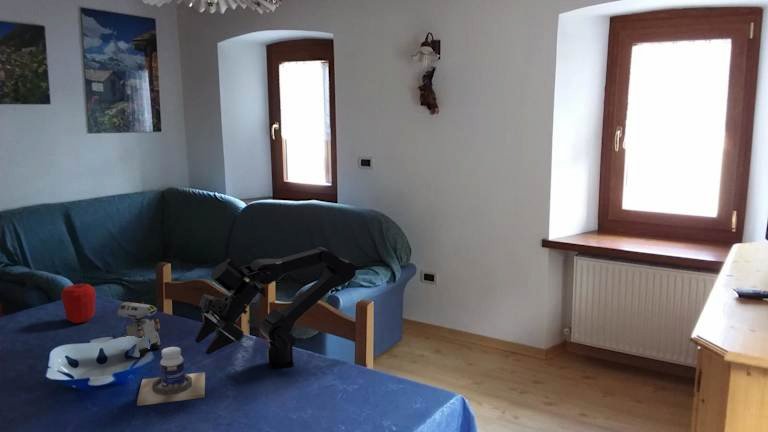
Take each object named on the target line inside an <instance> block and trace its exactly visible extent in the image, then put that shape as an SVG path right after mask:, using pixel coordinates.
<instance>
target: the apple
mask: <svg viewBox="0 0 768 432" xmlns="http://www.w3.org/2000/svg"><path fill="white" fill-rule="evenodd" d="M60 295H61V301H62V305H63V310H64V313H65V318H66V320H68V321H69V322H71V323H72V324H74V325H75V324H76V325H77V324H82V323H85V322H88V321H89V320H91V318H92V317H93V316H94V315H95V311H96V310H95V309H96V291H95V288H94V287H93V286H92V285H91V284H88V283H77V282H76V283H75V284H72V285H67V286H65V287H63V289H62V291H61V294H60Z"/></svg>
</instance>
